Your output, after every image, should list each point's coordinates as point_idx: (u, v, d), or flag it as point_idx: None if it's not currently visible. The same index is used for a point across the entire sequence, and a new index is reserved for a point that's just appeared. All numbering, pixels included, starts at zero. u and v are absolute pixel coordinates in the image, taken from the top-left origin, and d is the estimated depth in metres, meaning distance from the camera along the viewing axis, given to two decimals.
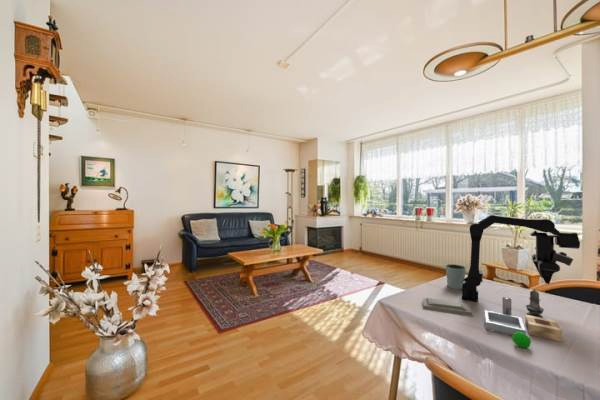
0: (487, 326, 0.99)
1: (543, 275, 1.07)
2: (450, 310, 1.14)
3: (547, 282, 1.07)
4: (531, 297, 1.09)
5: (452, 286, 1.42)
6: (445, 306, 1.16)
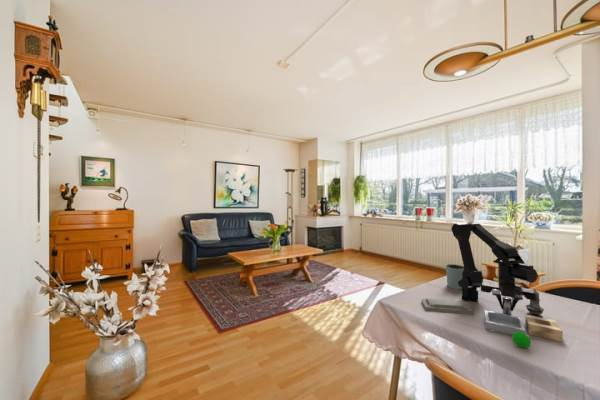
0: (487, 326, 0.99)
1: None
2: (452, 310, 1.14)
3: (501, 307, 1.10)
4: None
5: (452, 286, 1.42)
6: (447, 306, 1.16)
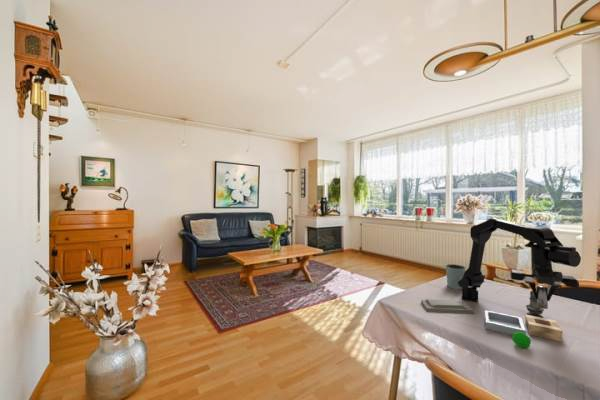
0: (487, 326, 0.99)
1: None
2: (453, 310, 1.14)
3: None
4: (531, 297, 1.09)
5: (452, 286, 1.42)
6: (447, 306, 1.15)
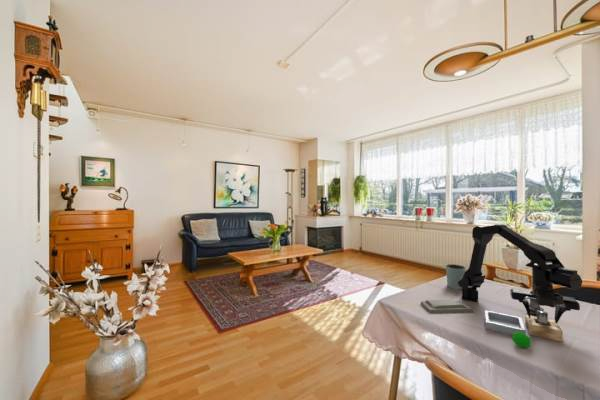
0: (487, 326, 0.99)
1: None
2: (454, 310, 1.14)
3: (528, 315, 0.98)
4: None
5: (452, 286, 1.42)
6: (448, 306, 1.15)
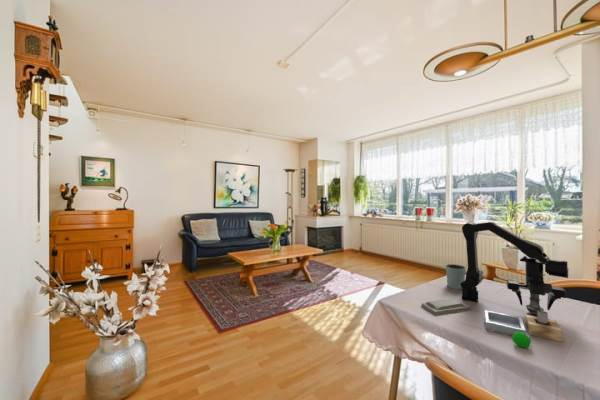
0: (487, 326, 0.99)
1: None
2: (456, 309, 1.14)
3: (520, 303, 1.12)
4: (531, 297, 1.09)
5: (452, 286, 1.42)
6: (450, 306, 1.15)
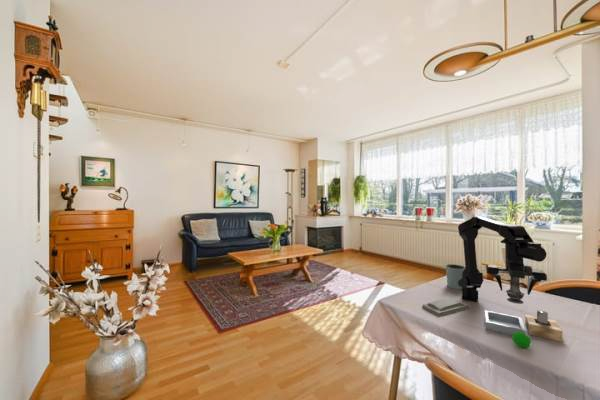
0: (487, 326, 0.99)
1: None
2: (456, 309, 1.14)
3: (500, 288, 1.06)
4: (512, 281, 1.03)
5: (452, 286, 1.42)
6: (451, 306, 1.15)
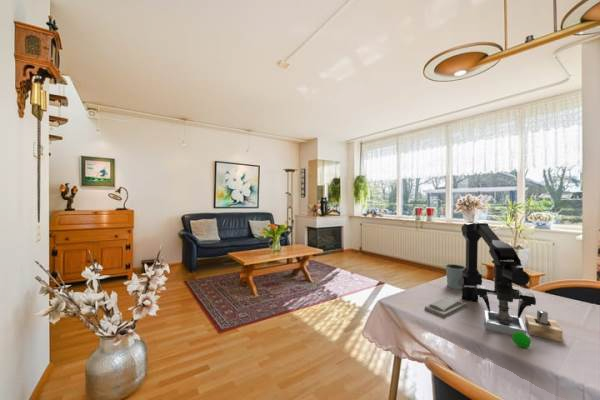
0: (487, 326, 0.99)
1: None
2: (457, 309, 1.15)
3: (488, 310, 1.03)
4: None
5: (452, 286, 1.42)
6: (452, 306, 1.15)
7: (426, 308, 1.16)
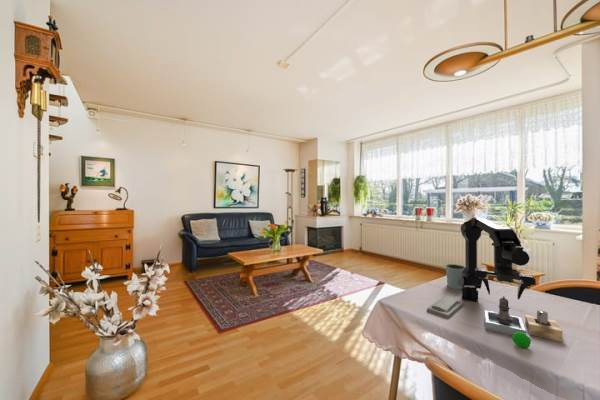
0: (487, 326, 0.99)
1: None
2: (457, 308, 1.15)
3: (488, 292, 1.03)
4: None
5: (452, 286, 1.42)
6: (452, 306, 1.16)
7: (428, 309, 1.15)
